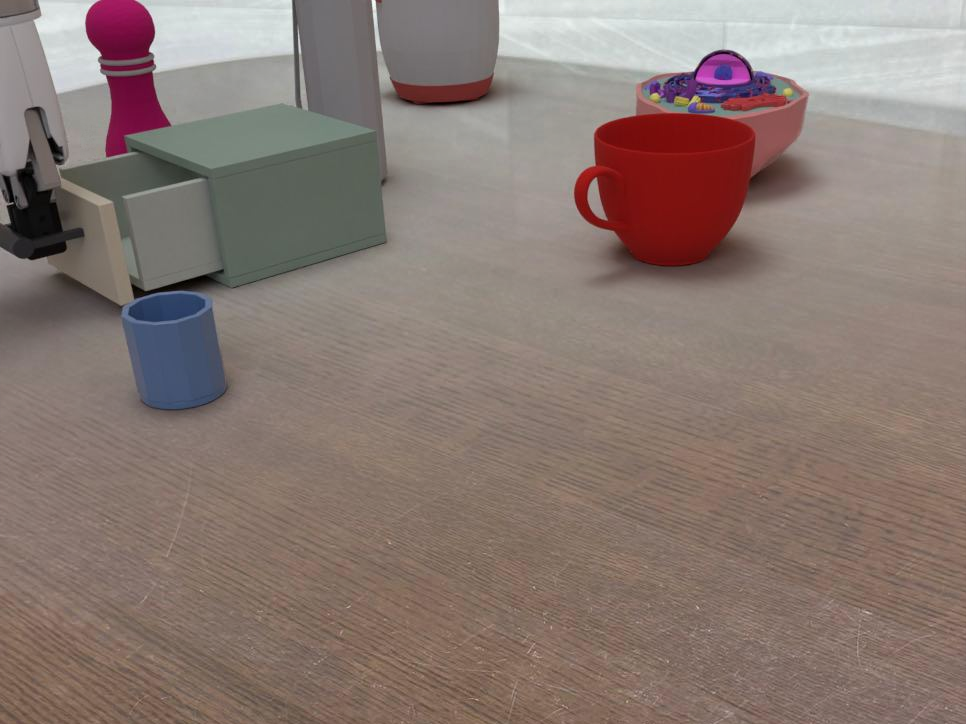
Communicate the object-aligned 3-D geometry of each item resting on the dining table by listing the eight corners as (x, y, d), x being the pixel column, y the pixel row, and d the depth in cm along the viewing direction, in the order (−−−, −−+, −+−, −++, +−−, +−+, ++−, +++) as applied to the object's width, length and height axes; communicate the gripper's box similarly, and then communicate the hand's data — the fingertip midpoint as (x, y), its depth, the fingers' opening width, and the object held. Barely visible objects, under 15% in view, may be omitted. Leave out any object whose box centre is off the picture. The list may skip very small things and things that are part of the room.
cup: (165, 418, 78) (147, 331, 75) (125, 390, 81) (106, 307, 78) (242, 390, 81) (228, 306, 78) (200, 365, 85) (185, 284, 81)
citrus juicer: (364, 86, 159) (347, -84, 148) (494, 78, 161) (487, -90, 150) (372, 114, 146) (354, -70, 135) (513, 105, 148) (507, -77, 137)
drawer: (50, 326, 89) (23, 222, 85) (-20, 281, 97) (-47, 184, 93) (282, 259, 100) (269, 164, 96) (202, 223, 109) (187, 135, 104)
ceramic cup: (526, 263, 101) (523, 141, 95) (669, 218, 110) (673, 105, 104) (634, 305, 92) (636, 174, 87) (779, 253, 101) (789, 131, 96)
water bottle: (403, 175, 123) (380, -100, 110) (363, 196, 117) (333, -91, 104) (328, 166, 127) (296, -101, 113) (285, 187, 121) (246, -93, 107)
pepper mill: (172, 186, 122) (132, -30, 111) (205, 202, 117) (166, -23, 106) (104, 201, 118) (55, -22, 107) (134, 218, 113) (87, -14, 103)
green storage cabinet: (231, 288, 97) (211, 168, 92) (146, 246, 106) (123, 135, 101) (386, 242, 106) (376, 130, 101) (296, 207, 115) (282, 103, 110)
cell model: (609, 199, 115) (610, 75, 109) (654, 145, 131) (658, 34, 125) (787, 211, 111) (799, 83, 105) (812, 154, 127) (823, 40, 121)
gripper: (-114, -7, 86) (-42, 243, 96) (-34, 16, 77) (37, 291, 86) (-10, -20, 90) (49, 221, 100) (78, 1, 81) (133, 265, 91)
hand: (43, 253), depth 93 cm, fingers closed
